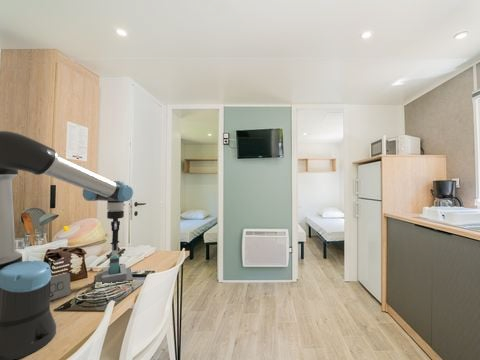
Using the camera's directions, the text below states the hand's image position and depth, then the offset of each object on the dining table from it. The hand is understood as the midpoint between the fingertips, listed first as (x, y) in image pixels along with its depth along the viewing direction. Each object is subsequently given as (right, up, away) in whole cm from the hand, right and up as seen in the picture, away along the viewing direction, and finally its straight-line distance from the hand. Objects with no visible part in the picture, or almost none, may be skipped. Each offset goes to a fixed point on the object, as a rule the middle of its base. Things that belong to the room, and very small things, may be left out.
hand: (114, 255), depth 111 cm
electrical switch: (-14, -11, -19) cm, 26 cm away
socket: (0, -11, 0) cm, 11 cm away
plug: (0, -10, 0) cm, 10 cm away
